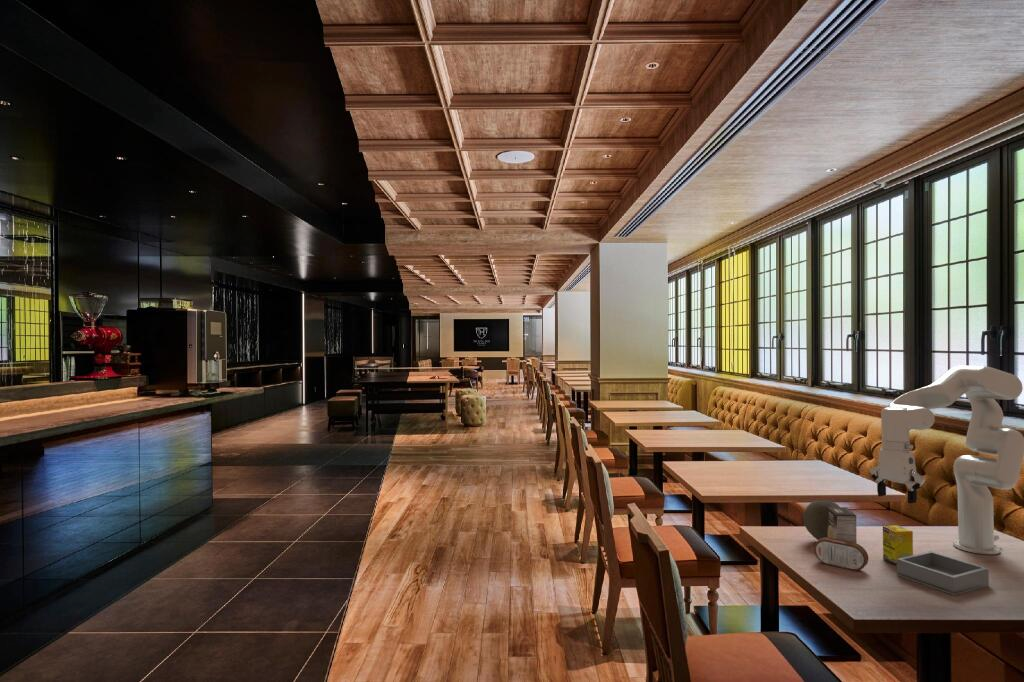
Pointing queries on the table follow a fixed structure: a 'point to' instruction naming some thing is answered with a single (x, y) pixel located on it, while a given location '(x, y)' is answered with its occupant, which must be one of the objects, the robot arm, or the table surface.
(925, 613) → the table surface
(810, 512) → the smooth river stone
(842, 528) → the coffee box
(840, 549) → the tin
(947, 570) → the tote
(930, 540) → the table surface
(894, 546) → the supplement box
